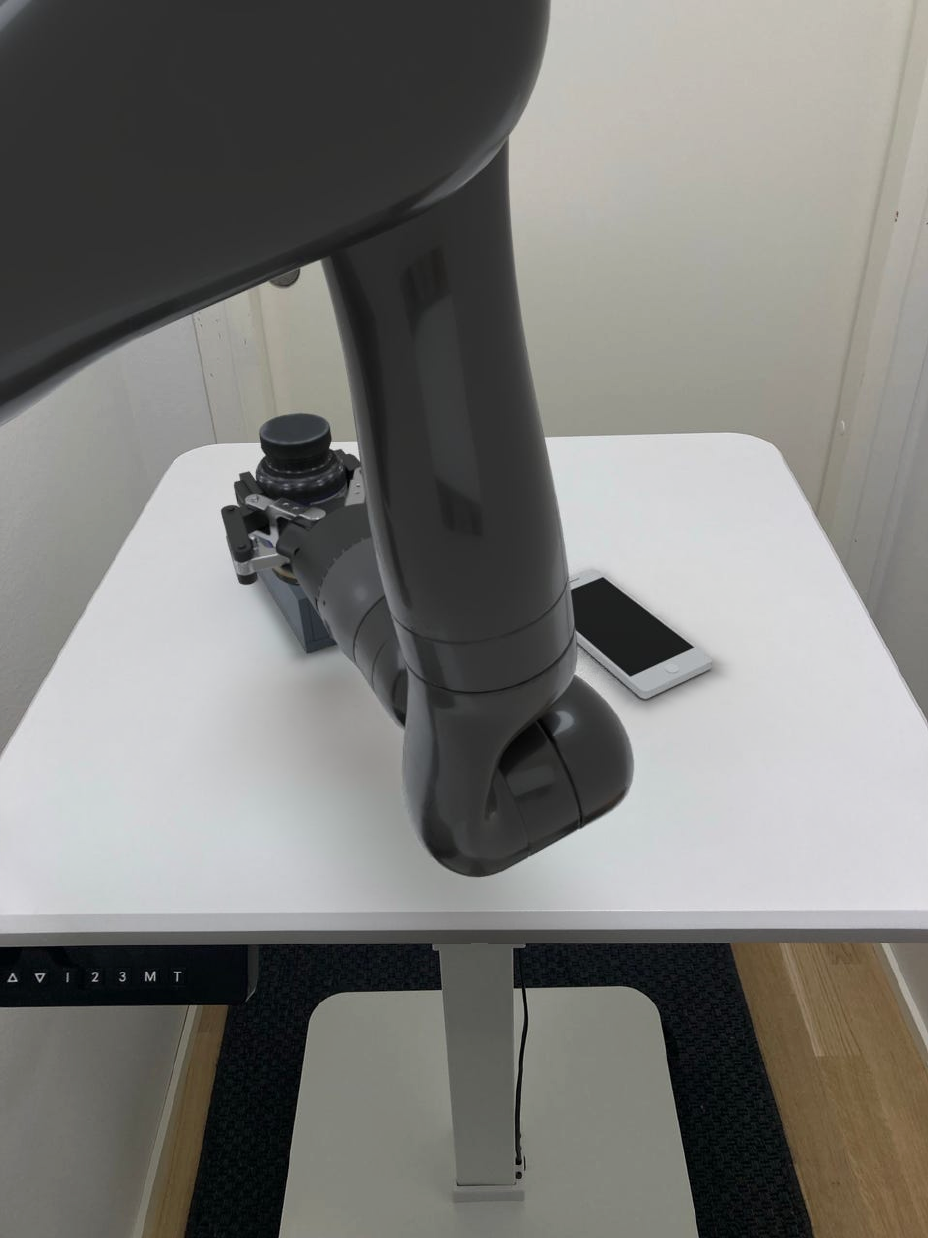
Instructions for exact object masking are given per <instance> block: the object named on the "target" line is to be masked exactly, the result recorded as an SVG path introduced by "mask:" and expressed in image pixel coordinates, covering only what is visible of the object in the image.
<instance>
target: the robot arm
mask: <svg viewBox="0 0 928 1238" xmlns="http://www.w3.org/2000/svg"><path fill="white" fill-rule="evenodd" d="M551 11H552V0H0V428H1V427H3V426H4V425H6V424H8V423H9V422H11V421H13V420H14V419H16V418H17V417H19V416H21V415H22V414H23V413H25V412H26V411H28V410H29V409H31V408H32V407H33V406H35V405H36V404H38V403H40V401H43V400H44V399H45V398H47V397H48V396H49V395H50V394H52V393H54V392H55V391H56V390H58V389H59V388H61V387H62V386H63V385H65V384H66V383H68V382H69V381H71V380H72V379H73V378H75V377H76V376H77V375H79V374H80V373H82V372H83V371H85V370H86V369H88V368H89V367H91V366H93V365H94V364H95V363H97V362H99V361H100V360H102V359H104V358H105V357H108V356H109V355H110V354H112V353H114V352H116V351H118V350H120V349H121V348H123V347H125V346H127V345H130V344H131V343H133V342H135V341H136V340H139V339H141V338H143V337H145V336H147V335H150V334H152V333H153V332H155V331H157V330H160V329H162V328H163V327H165V326H168V325H170V324H172V323H174V322H177V321H179V320H181V319H183V318H186V317H188V316H190V315H193V314H195V313H198V312H199V311H202V310H204V309H207V308H209V307H211V306H214V305H216V304H218V303H221V302H223V301H226V300H228V299H231V298H233V297H235V296H237V295H240V294H242V293H244V292H247V291H249V290H252V289H254V288H257V287H259V286H261V285H263V284H265V283H268V282H270V281H273V280H275V279H277V278H279V277H282V276H285V275H288V274H289V273H292V272H294V271H296V270H299V269H302V268H304V267H306V266H309V265H312V264H314V263H316V262H318V261H320V266H321V269H322V272H323V275H324V278H325V283H326V287H327V290H328V293H329V297H330V301H331V305H332V308H333V314H334V317H335V322H336V326H337V331H338V336H339V339H340V345H341V349H342V353H343V359H344V365H345V371H346V376H347V382H348V387H349V394H350V401H351V408H352V413H353V415H352V416H353V421H354V427H355V433H356V434H355V435H356V442H357V451H358V456H359V459H358V458H357V456H356V455H354V454H352V453H346V452H345V451H344V450H343V449H342V448H338V449H335V450H334V449H333V450H334V451H335V452H336V453H337V454H339V456H340V457H341V458H342V460H343V462H344V464H345V470H346V480H347V489H348V495H347V497H346V498H345V497H344V496H342V497H339V498H335V499H332V500H329V501H327V502H325V503H322V504H314V505H308V506H303V505H301V504H298V503H296V502H293V501H291V500H288V499H286V498H283V497H282V498H280V499H278V500H276V501H275V500H273V499H270V498H268V497H265V496H264V492H263V490H262V489H261V487H260V486H259V485H258V483H257V482H256V478H255V477H254V475H253V474H252V472H251V471H250V470H248V471H245V472H244V471H243V472H241V473H238V477H239V480H236V481H234V482H233V489H234V495H235V500H236V504H237V505H236V504H228V505H225V506H223V507H221V508H220V515H221V518H222V523H223V525H224V529H225V534H226V536H225V538H226V542H227V546H228V549H229V554H230V557H231V560H232V563H233V567H234V571H235V574H236V579H237V581H238V584H239V585H242V586H249V585H253V584H255V583H256V582H258V579H259V578H258V571H262V570H267V569H272V568H276V567H280V568H281V569H282V570H283V571H284V572H286V573H289V574H291V575H293V576H295V577H296V579H297V580H298V582H299V584H300V586H301V588H302V589H303V591H304V592H305V594H306V596H307V597H308V599H309V600H310V602H311V603H312V605H313V606H314V608H315V610H316V611H317V613H318V614H319V616H320V617H321V619H322V621H323V622H324V623H323V624H324V626H325V628H326V630H327V632H328V634H329V635H330V637H331V638H333V639H335V641H336V642H337V646H338V647H339V649H340V650H341V651H342V652H343V654H344V655H345V657H347V658H348V659H349V660H350V661H351V663H352V664H353V665H354V666H355V667H357V669H358V670H359V672H360V673H361V675H362V677H363V678H364V679H365V680H366V682H367V684H368V686H369V687H370V689H371V690H372V692H373V693H374V695H375V697H376V699H377V700H378V701H379V703H380V705H381V707H383V709H384V710H385V712H386V714H387V715H388V716H389V717H390V719H391V720H392V721H393V722H394V723H395V725H397V726H398V727H399V729H401V730H402V731H404V732H403V743H402V754H401V755H402V757H401V779H402V791H403V799H404V805H405V808H406V812H407V815H408V818H409V819H408V820H409V822H410V825H411V827H412V829H413V831H414V834H415V836H416V838H417V839H418V841H419V842H420V844H421V846H422V847H423V849H424V850H425V851H426V853H427V854H428V855H429V856H430V858H432V859H433V860H434V861H435V862H436V863H438V864H439V865H440V866H441V867H442V868H444V869H446V870H448V871H450V872H452V873H454V874H457V875H460V876H463V877H467V878H486V877H491V876H494V875H497V874H500V873H503V872H505V871H506V870H508V869H510V868H512V867H514V866H516V865H518V864H519V863H520V864H521V862H524V861H525V860H527V859H528V858H530V857H532V856H534V855H535V854H537V853H539V852H541V851H543V850H545V849H547V848H548V847H550V846H552V845H554V844H556V843H558V842H559V841H561V840H563V839H565V838H568V837H569V836H571V835H572V834H575V833H576V832H578V831H580V830H582V829H583V828H585V827H588V826H590V825H591V824H593V823H595V822H597V821H598V820H599V821H600V819H602V818H604V817H605V816H607V815H609V814H611V813H612V812H613V811H614V810H616V809H617V808H618V807H619V806H621V804H622V803H623V802H624V801H625V799H626V798H627V797H628V795H629V793H630V790H631V788H632V785H633V782H634V775H635V758H634V750H633V746H632V742H631V740H630V736H629V734H628V732H627V730H626V727H625V726H624V724H623V722H622V720H621V719H620V717H619V715H618V714H617V713H616V711H615V710H614V709H613V708H612V706H611V705H610V704H609V703H608V701H607V700H606V699H605V698H604V697H603V696H602V695H601V694H600V693H599V692H598V691H597V690H596V689H595V688H594V687H593V686H591V684H589V683H587V682H586V681H585V680H584V679H583V678H582V677H580V676H578V675H577V674H575V673H576V671H577V670H576V669H577V663H578V643H577V635H576V629H575V622H574V611H573V603H572V595H571V587H570V579H569V578H570V573H569V565H568V564H569V563H568V556H567V549H566V548H567V547H566V543H565V542H566V541H565V537H564V529H563V524H562V518H561V513H560V506H559V502H558V496H557V491H556V486H555V480H554V476H553V471H552V466H551V462H550V457H549V453H548V448H547V442H546V438H545V433H544V428H543V423H542V417H541V414H540V408H539V404H538V403H539V402H538V397H537V394H536V389H535V383H534V378H533V373H532V367H531V364H530V357H529V354H528V353H529V352H528V346H527V341H526V340H527V339H526V334H525V329H524V324H523V315H522V309H521V303H520V301H521V300H520V294H519V293H520V292H519V286H518V280H517V271H516V261H515V250H514V239H513V230H512V214H511V198H510V135H511V134H512V133H513V131H514V130H515V128H516V127H517V125H518V124H519V122H520V120H521V118H522V116H523V114H524V113H525V111H526V108H527V107H528V104H529V102H530V99H531V97H532V95H533V92H534V90H535V87H536V85H537V82H538V79H539V76H540V72H541V69H542V66H543V63H544V57H545V53H546V50H547V44H548V41H549V40H548V39H549V31H550V24H551V13H552V12H551ZM250 533H253V534H255V535H250V536H248V534H250ZM256 535H257V536H260V537H262V538H264V539H266V540H269V541H270V542H271V543H272V544H273V546H274V547H266V546H265V545H264V544H263V543H261V542H258V541H257V537H256Z"/></svg>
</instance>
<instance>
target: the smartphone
mask: <svg viewBox="0 0 928 1238" xmlns="http://www.w3.org/2000/svg"><path fill="white" fill-rule="evenodd" d="M569 579H570V587H571V595H572V603H573V611H574V622H575V629H576V635H577V645H579V646H580V647H581V648H583V649H584V650H585V651H586V652H587V653H589V655H590V656H592V657H593V658H594V659H595V660H596V661H598V663H600V664H601V665H602V666H603V667H605V668H606V669H607V670H608V671H609V672H610V673H612V675H614V676H615V677H616V678H617V679H618V680H619V681H620V682H622V683H623V684H624V685H625V686H626V687H627V688H628V689H630V690H631V691H632V692H633V693H634V694H636V695H637V696H638V697H639V698H641V699H643V700H648V699H651V698H652V697H654V696H656V695H658V694H661V693H662V692H664V691H666V690H669V689H670V688H673V687H675V686H678V685H680V684H681V683H683V682H686V681H687V680H690V679H692V678H694V677H696V676H698V675H701V674H702V673H704V672H706V671H709V670H711V669H712V665H713V664H712V663H713V659H712V658H711V656H710V655H708V654H707V653H706V652H705V651H704V650H702V649H701V648H699V647H698V646H697V645H695V644H694V643H693V642H692V641H690V640H689V639H688V638H687V637H685V636H684V635H682V634H681V633H680V632H678V630H676V629H675V628H673V627H672V626H671V625H670V624H668V623H667V622H666V621H665V620H663V619H662V618H661V617H659V616H658V615H656V614H655V613H654V612H653V611H651V610H650V609H649V608H647V607H646V606H645V605H643V604H642V603H641V602H639V601H638V600H637V599H635V598H634V597H633V596H631V595H630V594H629V593H628V592H627V591H625V590H624V589H623V588H621V587H620V586H619V585H617V584H616V583H615V582H614V581H612V580H611V579H609V578H608V577H607V576H605V575H604V574H603V573H602V572H600V571H599V570H597V569H594V568H592V569H590V570H587V571H584V572H582V573H579V574H577V575H574V576H571V577H569Z"/></svg>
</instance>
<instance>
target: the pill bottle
mask: <svg viewBox="0 0 928 1238" xmlns="http://www.w3.org/2000/svg"><path fill="white" fill-rule="evenodd" d="M258 435H259V442H260V449H261V451H262V452H263V454H264V456H263V457H262V458H261V459H260V461H259V462H258V464H257V467H256V468H255V480H256V482H257V483H258V485H259V486H260V487H261V489H262V490H263V492H264V496H265V497H268V498H270V499H273V500H275V501H276V500H278V499H280V498H282V497H283V498H286V499H288V500H291V501H293V502H296V503H298V504H301V505H303V506H308V505H314V504H322V503H325V502H327V501H329V500H332V499H335V498H339V497H342V496H344V497H345V498H346V497H347V495H348V489H347V480H346V470H345V464H344V462H343V460H342V458H341V457H340V456H339V454H337V453H336V452H335V451H334V449H332V448H330V447H331V444H332V440H333V438H332V433H331V425H330V423H329V422H328V420H327V419H326V418H324V417H323V416H320V415H318V414H313V413H307V412H305V413H303V412H296V413H288V414H282V415H280V416H276V417H275V416H274V417H273V418H271V419H269V420H267V421H265V422H264V423H263V424H262V425H261V426H260V428H259V432H258ZM266 541H267V547H274V546H273V544H272V543H271V542H270V541H269V540H266ZM272 571H273V573H274V574H275V575H276V576H277V577H278V578H279V579H280V580H282V581H283V582H285V583H287V584H290V585H295V586H300V584H299V582H298V580H297V579H296V577H295V576H293V575H291V574H289V573H286V572H284V571H283V570H282V569H281V568H280V567H276V568H272Z"/></svg>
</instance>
